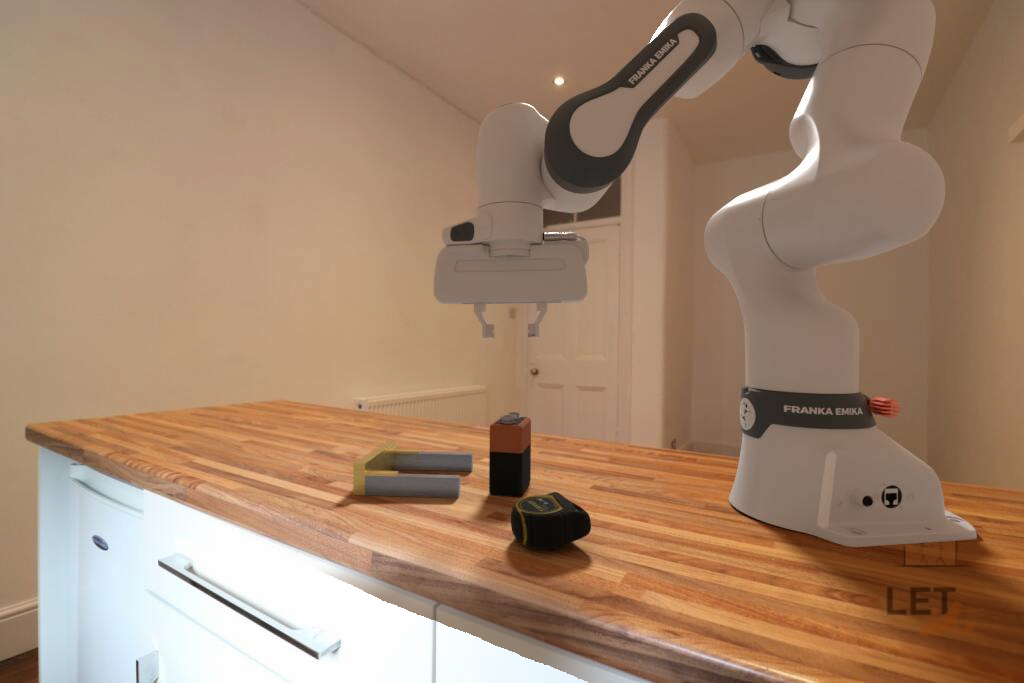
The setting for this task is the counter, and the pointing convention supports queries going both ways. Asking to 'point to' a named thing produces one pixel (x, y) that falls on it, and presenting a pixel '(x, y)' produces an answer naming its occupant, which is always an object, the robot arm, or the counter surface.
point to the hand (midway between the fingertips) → (511, 337)
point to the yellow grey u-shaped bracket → (381, 481)
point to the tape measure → (548, 521)
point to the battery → (510, 455)
